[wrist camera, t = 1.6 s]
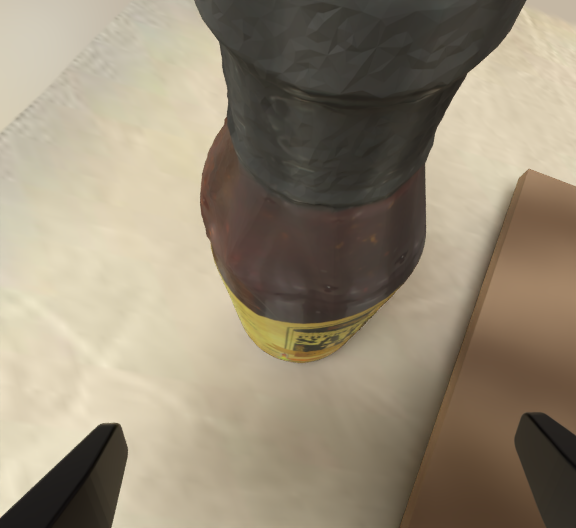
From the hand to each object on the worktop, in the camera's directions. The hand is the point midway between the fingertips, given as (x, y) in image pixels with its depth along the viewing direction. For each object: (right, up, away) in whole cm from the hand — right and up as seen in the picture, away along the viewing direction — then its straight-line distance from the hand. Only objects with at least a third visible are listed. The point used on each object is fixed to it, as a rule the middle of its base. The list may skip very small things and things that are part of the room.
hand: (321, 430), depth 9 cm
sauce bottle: (0, +1, +14) cm, 14 cm away
